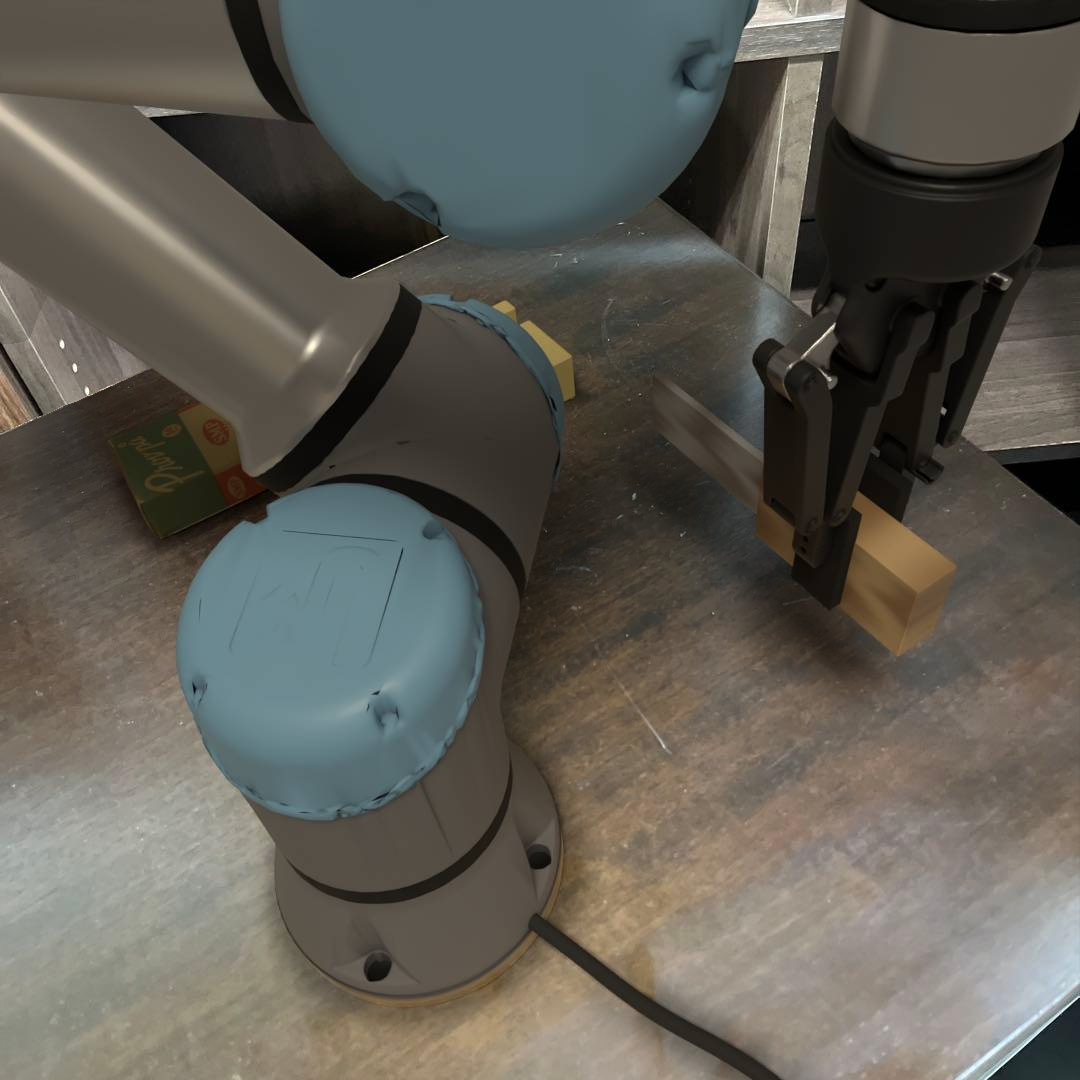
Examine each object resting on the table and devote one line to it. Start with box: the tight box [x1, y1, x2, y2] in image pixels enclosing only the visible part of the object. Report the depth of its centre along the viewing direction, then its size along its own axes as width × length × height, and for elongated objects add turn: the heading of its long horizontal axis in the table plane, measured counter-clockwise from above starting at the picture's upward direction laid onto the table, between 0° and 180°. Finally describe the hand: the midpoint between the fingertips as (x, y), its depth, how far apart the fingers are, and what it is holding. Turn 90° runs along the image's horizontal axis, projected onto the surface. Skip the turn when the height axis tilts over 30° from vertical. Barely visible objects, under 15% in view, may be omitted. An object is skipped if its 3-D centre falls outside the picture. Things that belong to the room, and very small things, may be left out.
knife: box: [652, 371, 958, 657], centre depth 51 cm, size 20×2×5 cm, turn 34°
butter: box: [519, 319, 576, 403], centre depth 77 cm, size 6×6×4 cm
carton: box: [107, 400, 269, 540], centre depth 74 cm, size 8×16×4 cm, turn 122°
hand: (838, 574), depth 50 cm, fingers closed on knife, 2 cm apart
